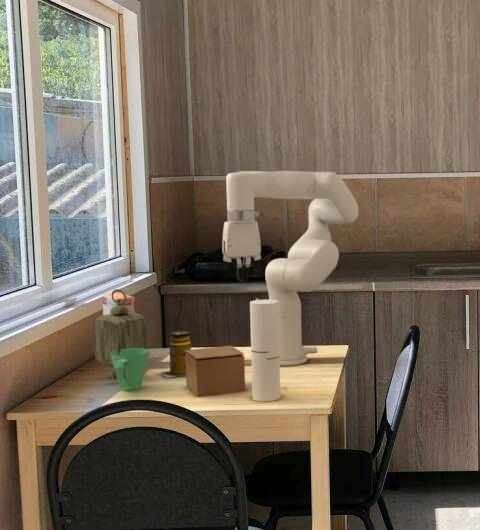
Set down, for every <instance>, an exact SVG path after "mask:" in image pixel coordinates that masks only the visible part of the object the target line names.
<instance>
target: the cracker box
mask: <svg viewBox="0 0 480 530" xmlns="http://www.w3.org/2000/svg"><path fill="white" fill-rule="evenodd" d="M125 295H126V301H125V303H124V304H121V305H124V306H126V307H127V309H128V310H129V312H133V313H136V305H135V303H136V302H135V301H136V300H135V297H134V296H131V295H128V294H126V293H125ZM113 298H114V299H115V300H116V301H117V299H120V300H121V302H123V301H124V295H123V294H122V293H121V292H115V293H114V294H113ZM116 305H117V304H116V303H115V302H114V301H113V300H112V292H108V293H107V292H106V293H103V294H102V313H103V314H102V315H108V314H111V313H110V310H111V308H112V307H113V306H116Z"/></svg>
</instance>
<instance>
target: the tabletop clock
mask: <svg viewBox="0 0 480 530" xmlns="http://www.w3.org/2000/svg"><path fill="white" fill-rule="evenodd" d="M111 293H112V300H113V301H114V302H115V303H116V304H117V305H116V306H113V307H112V308H111V310H110V313H111V314H108V315H103V314H101V315H100V316H98V317H96V318H95V319H94V320H93V325H92V342H93V352H94V357H95V359H96V361H98V362H100V363H102V364H105V365H108V366H111V367H114V366H113V362H112V358H111V353H112V352H113V351H117V354H118V355H119V352H120V350H121V349H129V348H142V349H147V350H149V335H148V334H149V333H148V326H147V320H146V318H145V317H144V316H143V315H142V314H139V313H136V312H135V313H133V312H129V310H128V309H127V307H126V306H124V305H121V304H124V303H125V301H126V295H127V294H126V293H125V291H123V290H122V289H120V288H117V289H113V290H112V292H111ZM114 293H122V294H123V295H124V301H123V302H121V300H120V299H117V301H116V300H115V299H114V298H113V294H114ZM125 294H126V295H125ZM111 376H112V377H113V378H116V373H115V371H113V372H112V374H111ZM116 379H117V378H116Z"/></svg>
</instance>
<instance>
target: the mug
mask: <svg viewBox="0 0 480 530" xmlns="http://www.w3.org/2000/svg"><path fill="white" fill-rule="evenodd" d="M149 357H150V350H149V349H148V350H147V349H142V348H129V349H121V350H120V352H119V355H118V354H117V351H113V352H112V353H111V358H112V362H113V366H112V367H113V370H114V372H115V373H116V379H117V380H116V381H117V383H118V385H119V387H120V388H121V389H122V391H127V392H128V391H129V392H130V391H131V392H132V391H137V390H140V389H141V388H142V385H143V383H144V380H145V376H146V374H147V370H148V365H149V359H150V358H149Z"/></svg>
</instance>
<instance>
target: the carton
mask: <svg viewBox="0 0 480 530" xmlns="http://www.w3.org/2000/svg"><path fill="white" fill-rule="evenodd" d="M209 348H210V347H203V348H193V349H192V348H191V350H186V352H187V353H185V356H186V376H185V379H186V380H185V383H186V384H185V385H186V388H187V389H188V390H189V391H191V392H192V393H193V394H194V395H195V396H196V397H205V396H213V395H221V394H231V393H237V392H238V393H239V392H245V391H246V373H245V372H246V371H245V355H235V356H227V357H220V356H219V355H218V354H217V353H215V352H214V351H212V350H211V349H209Z"/></svg>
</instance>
